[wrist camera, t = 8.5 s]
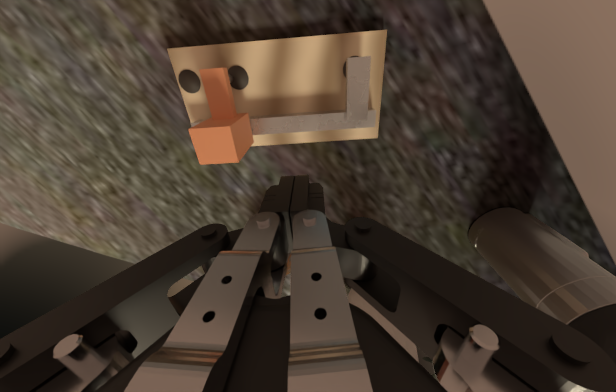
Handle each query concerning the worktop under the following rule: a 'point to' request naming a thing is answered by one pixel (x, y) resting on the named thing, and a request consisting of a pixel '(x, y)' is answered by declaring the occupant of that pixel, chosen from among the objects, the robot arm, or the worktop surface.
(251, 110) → the hole board
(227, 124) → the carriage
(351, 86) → the rail
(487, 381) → the robot arm
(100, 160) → the worktop surface
